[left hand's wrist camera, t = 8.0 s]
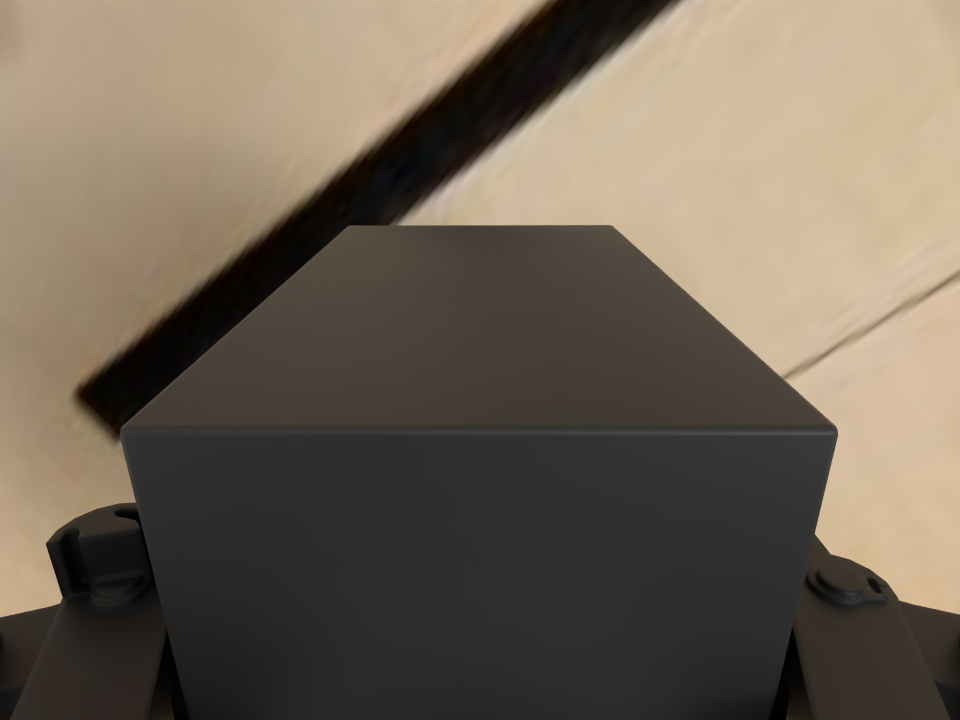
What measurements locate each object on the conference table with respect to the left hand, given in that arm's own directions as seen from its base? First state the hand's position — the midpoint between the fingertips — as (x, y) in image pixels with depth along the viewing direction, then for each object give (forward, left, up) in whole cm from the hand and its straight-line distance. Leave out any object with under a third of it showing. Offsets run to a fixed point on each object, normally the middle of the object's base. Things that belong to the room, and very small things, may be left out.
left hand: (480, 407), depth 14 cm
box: (+8, 0, -1) cm, 9 cm away
